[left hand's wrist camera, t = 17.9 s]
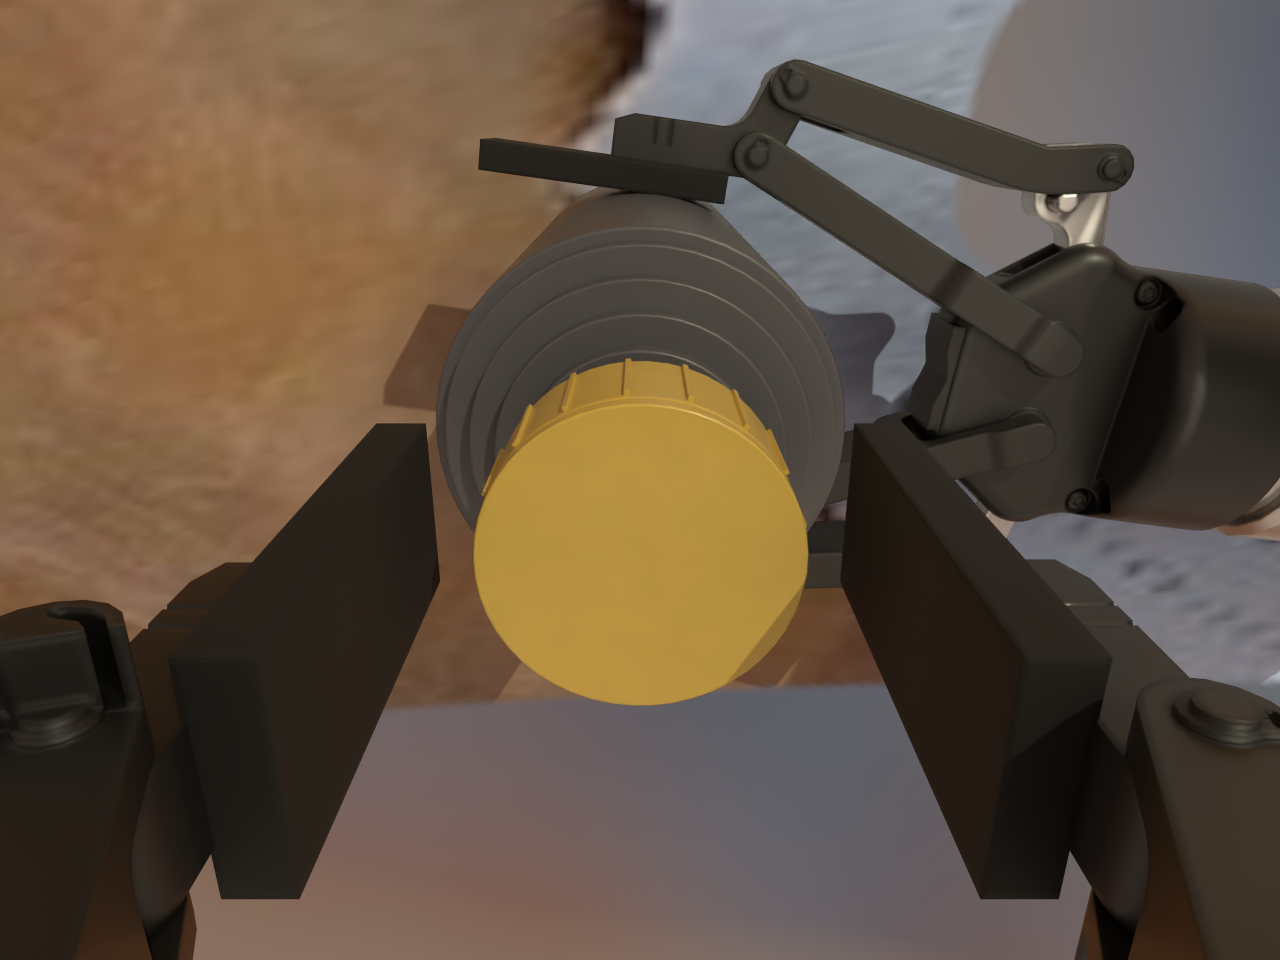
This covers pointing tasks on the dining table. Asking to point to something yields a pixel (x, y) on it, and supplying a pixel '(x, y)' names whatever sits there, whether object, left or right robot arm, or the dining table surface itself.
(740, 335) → the bottle
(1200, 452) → the right robot arm
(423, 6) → the dining table surface
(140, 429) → the dining table surface
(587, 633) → the cap
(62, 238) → the dining table surface
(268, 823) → the left robot arm
